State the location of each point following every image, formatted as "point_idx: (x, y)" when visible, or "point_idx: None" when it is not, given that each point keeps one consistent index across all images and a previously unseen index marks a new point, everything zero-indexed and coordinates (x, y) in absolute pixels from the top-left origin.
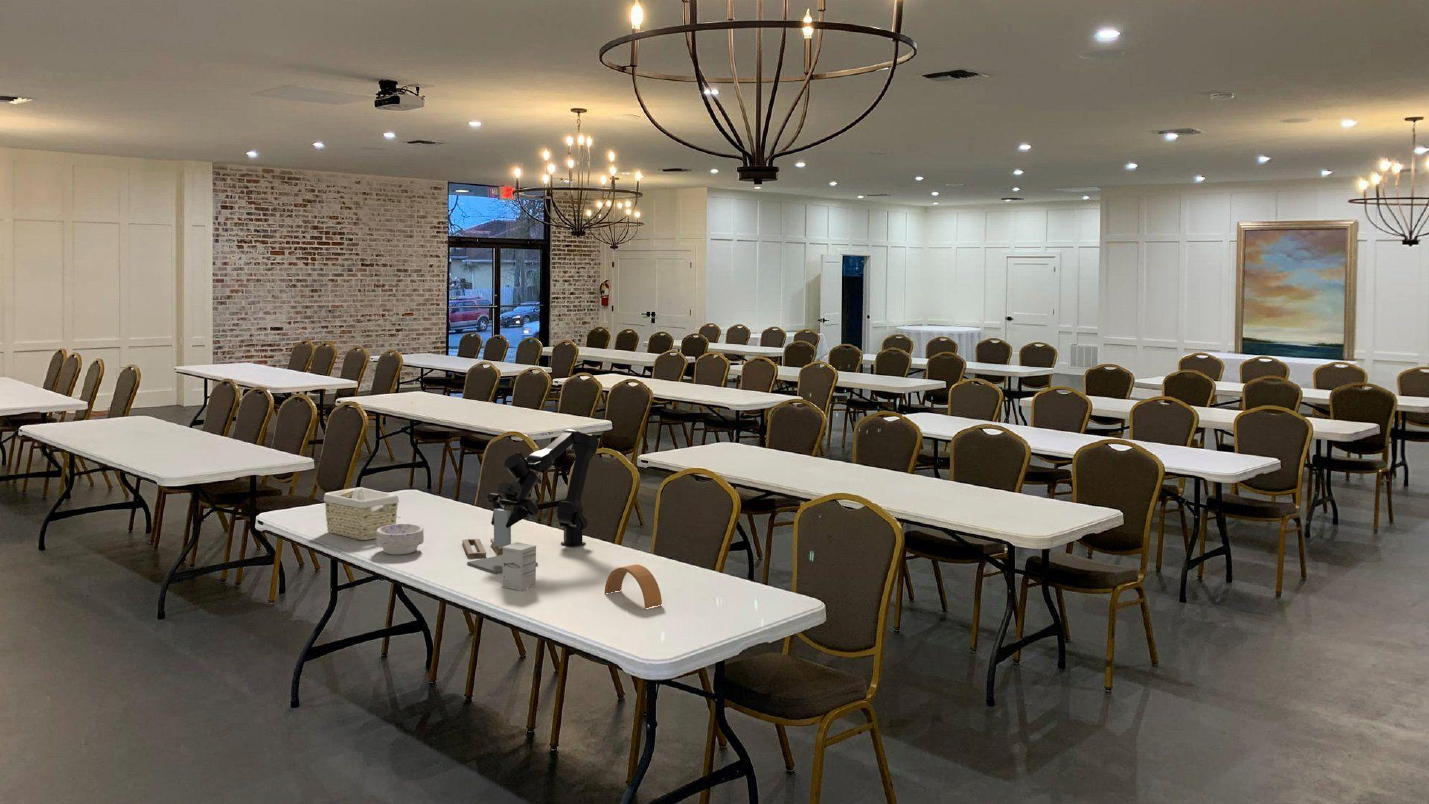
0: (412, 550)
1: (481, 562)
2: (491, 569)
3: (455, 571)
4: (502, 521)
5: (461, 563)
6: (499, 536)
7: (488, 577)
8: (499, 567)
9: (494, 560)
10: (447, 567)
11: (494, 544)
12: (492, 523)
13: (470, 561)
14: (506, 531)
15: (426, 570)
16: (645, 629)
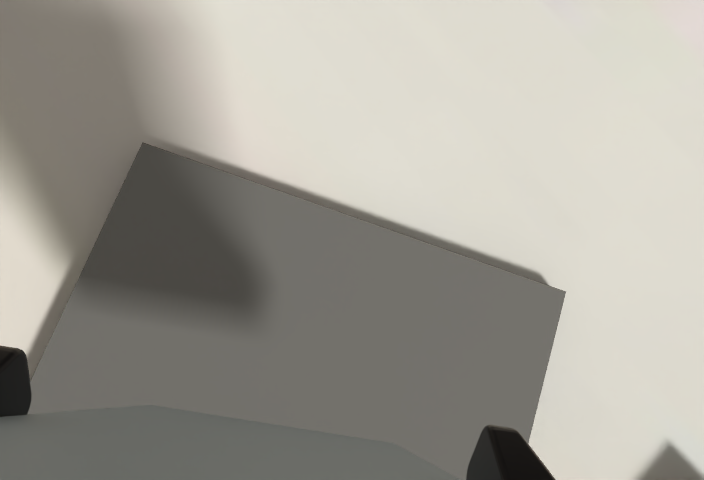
0: None
1: (446, 337)
2: (223, 183)
3: (492, 85)
4: (158, 453)
5: (620, 301)
6: (290, 437)
7: (158, 55)
8: (196, 271)
9: None
10: (623, 150)
11: (386, 444)
12: (483, 440)
13: (553, 319)
14: (90, 417)
15: (685, 21)
16: None
